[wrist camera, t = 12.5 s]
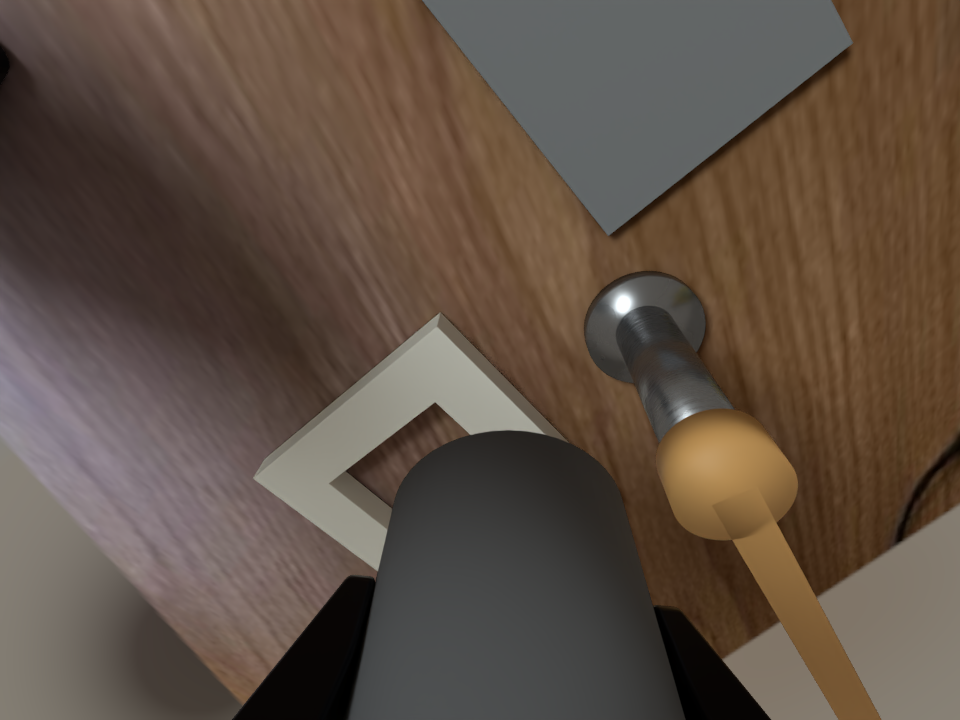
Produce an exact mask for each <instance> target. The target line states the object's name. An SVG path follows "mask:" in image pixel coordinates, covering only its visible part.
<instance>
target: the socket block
mask: <svg viewBox="0 0 960 720" xmlns="http://www.w3.org/2000/svg"><path fill="white" fill-rule="evenodd" d="M435 402H436V403H437V404H438V405H439V406H440V407H441V408H442V409H443V410H444V411H445V412H446V413H447V414H449V415H450V416H451V417H452V418H453V419H454V420H455V421H456V422H457V423H458V424H459V425H460V426H461V427H463V428H464V429H465V430H466V431H467V432H468V433H469V434H470V435H473V434H477V433H483V432H489V431H502V430H515V431H528V432H534V433H540V434H544V435H548V436H551V437H555V438H558V439H561V440H563V441H565V442H568V441H567V440H566V439H565V438H564V437H563V436H562V435H561V434H560V433H559V432H558V431H557V430H556V429H555V428H554V427H553V426H552V425H551V424H550V423H549V422H548V421H547V420H546V419H545V418H544V417H543V416H542V415H541V414H540V413H539V412H538V411H537V410H536V409H535V408H534V407H533V406H532V405H531V404H530V403H529V402H528V400H527V399H526V398H525V397H524V396H523V395H522V394H521V393H520V392H519V391H518V390H517V389H516V388H515V387H514V386H513V385H512V384H511V383H510V382H509V381H508V380H507V379H506V378H505V377H504V376H503V375H502V374H501V373H500V372H499V371H498V370H497V369H496V368H495V367H494V366H493V365H492V364H491V363H490V362H489V361H488V360H487V359H486V358H485V357H484V356H483V355H482V354H481V353H480V352H479V351H478V350H477V349H476V348H475V347H474V346H473V345H472V344H471V343H470V342H469V341H468V340H467V339H466V338H465V337H464V336H463V335H462V334H461V333H460V332H459V331H458V330H457V329H456V328H455V327H454V326H453V325H452V324H451V323H450V322H449V320H448V319H447V318H446V317H445V316H444V315H443V314H442V313H441V312H440V313H439V314H438V315H436V316H435V317H434V318H433V319H432V320H430V321H429V322H428V323H427V324H426V325H424V326H423V327H422V328H421V329H420V330H418V331H417V332H416V333H415V334H414V335H412V336H411V337H410V338H409V339H408V340H407V341H405V342H404V343H403V344H402V345H401V346H399V347H398V348H397V349H396V350H395V351H393V352H392V353H391V354H390V355H389V356H387V357H386V358H385V359H384V360H383V361H381V362H380V363H379V364H378V365H377V366H375V367H374V368H373V369H372V370H371V371H369V372H368V373H367V374H366V375H365V376H363V377H362V378H361V379H360V380H359V381H357V382H356V383H355V384H354V385H353V386H351V387H350V388H349V389H348V390H347V391H345V392H344V393H343V394H342V395H341V396H339V397H338V398H337V399H336V400H335V401H333V402H332V403H331V404H330V405H329V406H328V407H326V408H325V409H324V410H323V411H322V412H320V413H319V414H318V415H317V416H316V417H314V418H313V419H312V420H311V421H310V422H308V423H307V424H306V425H305V426H304V427H302V428H301V429H300V430H299V431H298V432H296V433H295V434H294V435H293V436H292V437H290V438H289V439H288V440H287V441H286V442H284V443H283V444H282V445H281V446H280V447H278V448H277V449H276V450H275V451H274V452H272V453H271V454H270V455H269V456H268V457H266V458H265V459H264V461H263V462H262V464H261V466H260V468H259V469H258V471H257V473H256V474H255V476H254V478H253V479H254V480H256V481H257V482H258V483H260V484H261V485H262V486H264V487H265V488H266V489H268V490H269V491H270V492H272V493H273V494H275V495H276V496H277V497H279V498H280V499H281V500H283V501H284V502H285V503H287V504H288V505H289V506H291V507H292V508H293V509H295V510H296V511H297V512H299V513H300V514H301V515H303V516H304V517H305V518H307V519H308V520H309V521H311V522H312V523H313V524H315V525H316V526H317V527H319V528H320V529H322V530H323V531H324V532H326V533H327V534H328V535H330V536H331V537H332V538H334V539H335V540H336V541H338V542H339V543H340V544H342V545H343V546H344V547H346V548H347V549H348V550H350V551H351V552H352V553H354V554H355V555H356V556H358V557H359V558H360V559H362V560H363V561H365V562H366V563H367V564H369V565H370V566H371V567H373V568H374V569H375V570H377V571H378V569H379V564H380V560H381V556H382V552H383V547H384V543H385V539H386V534H387V530H388V526H389V521H390V517H391V513H392V508H391V507H389V506H388V505H387V504H386V503H384V502H383V501H382V500H381V499H379V498H378V497H377V496H376V495H374V494H373V493H372V492H371V491H369V490H368V489H367V488H366V487H365V486H363V485H362V484H361V483H360V482H358V481H357V480H356V479H355V478H353V477H352V476H351V475H350V474H348V473H347V472H346V470H347V469H348V468H350V467H351V466H352V465H353V464H355V463H356V462H357V461H359V460H360V459H361V458H363V457H364V456H365V455H367V454H368V453H369V452H370V451H372V450H373V449H374V448H376V447H377V446H378V445H380V444H381V443H382V442H384V441H385V440H386V439H387V438H389V437H390V436H391V435H393V434H394V433H395V432H397V431H398V430H399V429H401V428H402V427H403V426H404V425H406V424H407V423H408V422H410V421H411V420H412V419H414V418H415V417H416V416H418V415H419V414H420V413H421V412H423V411H424V410H425V409H427V408H428V407H429V406H431V405H432V404H433V403H435ZM568 443H569V442H568Z"/></svg>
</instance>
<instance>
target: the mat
mask: <svg viewBox="0 0 960 720" xmlns="http://www.w3.org/2000/svg"><path fill="white" fill-rule="evenodd" d="M422 1H423V2H424V3H425V5H426V6H427V7H428V8H429V10H430V11H431V12H432V13H433V15H434V16H435V17H436V18H437V20H438V21H439V22H440V23H441V25H442V26H443V27H444V29H445V30H446V31H447V32H448V34H449V35H450V36H451V37H452V39H453V40H454V41H455V42H456V44H457V45H458V46H459V48H460V49H461V50H462V51H463V53H464V54H465V55H466V56H467V58H468V59H469V60H470V61H471V63H472V64H473V65H474V67H475V68H476V69H477V70H478V72H479V73H480V74H481V75H482V77H483V78H484V79H485V80H486V82H487V83H488V84H489V86H490V87H491V88H492V89H493V91H494V92H495V93H496V94H497V96H498V97H499V98H500V99H501V101H502V102H503V103H504V105H505V106H506V107H507V108H508V110H509V111H510V112H511V113H512V115H513V116H514V117H515V118H516V120H517V121H518V122H519V124H520V125H521V126H522V127H523V129H524V130H525V131H526V132H527V134H528V135H529V136H530V137H531V139H532V140H533V141H534V143H535V144H536V145H537V146H538V148H539V149H540V150H541V151H542V153H543V154H544V155H545V156H546V158H547V159H548V160H549V162H550V163H551V164H552V165H553V167H554V168H555V169H556V170H557V172H558V173H559V174H560V175H561V177H562V178H563V179H564V181H565V182H566V183H567V184H568V186H569V187H570V188H571V189H572V191H573V192H574V193H575V194H576V196H577V197H578V198H579V199H580V201H581V202H582V203H583V205H584V206H585V207H586V208H587V210H588V211H589V212H590V213H591V215H592V216H593V217H594V218H595V220H596V221H597V222H598V224H599V225H600V226H601V227H602V229H603V230H604V231H605V232H606V234H607V235H608V236H609V235H610V234H611V233H613V232H614V231H615V230H617V229H618V228H619V227H620V226H622V225H623V224H624V223H625V222H627V221H628V220H629V219H630V218H632V217H633V216H634V215H636V214H637V213H638V212H639V211H641V210H642V209H643V208H644V207H646V206H647V205H648V204H650V203H651V202H652V201H653V200H655V199H656V198H657V197H658V196H660V195H661V194H662V193H663V192H665V191H666V190H667V189H669V188H670V187H671V186H672V185H674V184H675V183H676V182H677V181H679V180H680V179H681V178H682V177H684V176H685V175H686V174H688V173H689V172H690V171H691V170H693V169H694V168H695V167H696V166H698V165H699V164H700V163H701V162H703V161H704V160H705V159H707V158H708V157H709V156H710V155H712V154H713V153H714V152H715V151H717V150H718V149H719V148H721V147H722V146H723V145H724V144H726V143H727V142H728V141H729V140H731V139H732V138H733V137H734V136H736V135H737V134H738V133H740V132H741V131H742V130H743V129H745V128H746V127H747V126H748V125H750V124H751V123H752V122H753V121H755V120H756V119H757V118H759V117H760V116H761V115H762V114H764V113H765V112H766V111H767V110H769V109H770V108H771V107H772V106H774V105H775V104H776V103H778V102H779V101H780V100H781V99H783V98H784V97H785V96H786V95H788V94H789V93H790V92H792V91H793V90H794V89H795V88H797V87H798V86H799V85H800V84H802V83H803V82H804V81H805V80H807V79H808V78H809V77H811V76H812V75H813V74H814V73H816V72H817V71H818V70H819V69H821V68H822V67H823V66H824V65H826V64H827V63H828V62H830V61H831V60H832V59H833V58H835V57H836V56H837V55H838V54H840V53H841V52H842V51H843V50H845V49H846V48H847V47H849V46H850V45H851V44H852V43H853V42H852V40H851V38H850V36H849V34H848V32H847V30H846V28H845V26H844V24H843V22H842V20H841V19H840V17H839V15H838V13H837V11H836V9H835V7H834V5H833V3H832V1H831V0H422Z"/></svg>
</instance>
